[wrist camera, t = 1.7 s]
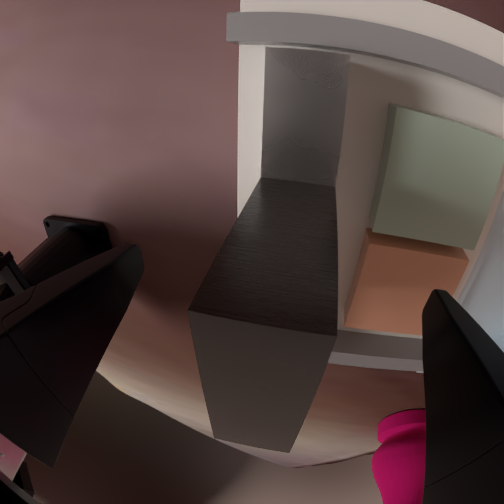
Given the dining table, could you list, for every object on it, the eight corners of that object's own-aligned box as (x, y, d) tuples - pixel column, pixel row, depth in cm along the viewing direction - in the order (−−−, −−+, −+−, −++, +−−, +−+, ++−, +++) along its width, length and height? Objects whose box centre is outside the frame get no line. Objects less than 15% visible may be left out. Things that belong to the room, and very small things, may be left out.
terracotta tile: (343, 308, 14) (343, 326, 13) (366, 227, 12) (369, 243, 11) (425, 318, 13) (430, 336, 12) (460, 244, 11) (469, 260, 10)
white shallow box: (249, 309, 20) (231, 364, 16) (258, -4, 10) (228, -33, 6) (409, 332, 18) (417, 387, 14) (493, 46, 8) (549, 48, 4)
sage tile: (368, 216, 11) (372, 231, 10) (389, 102, 9) (396, 106, 8) (464, 234, 11) (473, 250, 10) (493, 133, 8) (508, 142, 7)
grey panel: (265, 317, 15) (221, 467, 9) (281, 53, 8) (163, 18, 2) (304, 323, 15) (276, 478, 9) (342, 59, 8) (399, 26, 2)
